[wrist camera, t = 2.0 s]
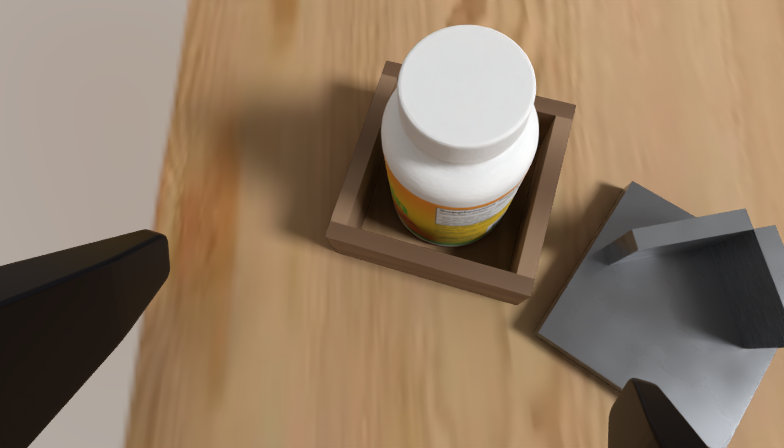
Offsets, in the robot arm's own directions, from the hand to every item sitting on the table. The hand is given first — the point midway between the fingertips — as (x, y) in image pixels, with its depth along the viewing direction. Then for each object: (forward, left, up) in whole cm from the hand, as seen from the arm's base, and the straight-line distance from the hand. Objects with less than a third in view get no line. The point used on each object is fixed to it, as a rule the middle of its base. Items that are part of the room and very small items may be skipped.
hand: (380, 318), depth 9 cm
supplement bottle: (+1, +7, -13) cm, 15 cm away
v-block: (+11, +3, -13) cm, 17 cm away
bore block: (+1, +7, -13) cm, 15 cm away
